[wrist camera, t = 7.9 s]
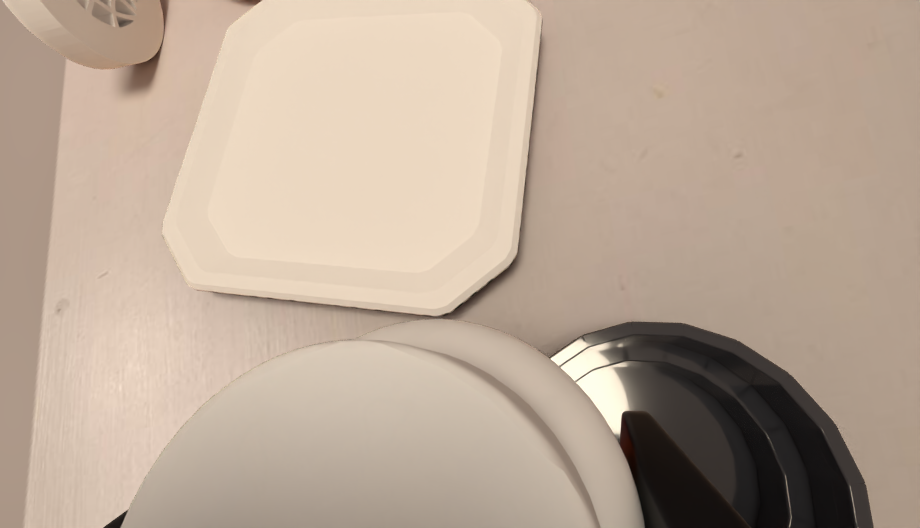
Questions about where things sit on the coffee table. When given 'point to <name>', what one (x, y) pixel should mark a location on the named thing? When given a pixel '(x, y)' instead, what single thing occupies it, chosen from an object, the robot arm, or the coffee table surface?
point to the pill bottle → (395, 441)
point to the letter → (95, 29)
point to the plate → (360, 153)
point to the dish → (726, 420)
